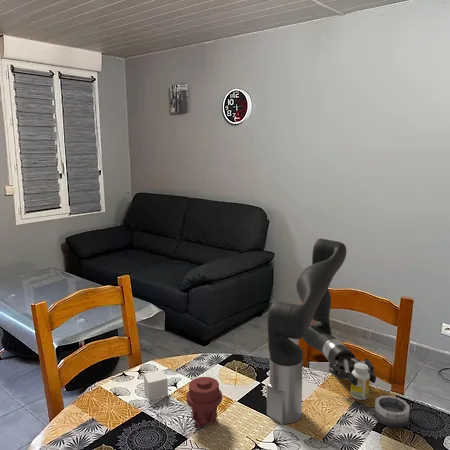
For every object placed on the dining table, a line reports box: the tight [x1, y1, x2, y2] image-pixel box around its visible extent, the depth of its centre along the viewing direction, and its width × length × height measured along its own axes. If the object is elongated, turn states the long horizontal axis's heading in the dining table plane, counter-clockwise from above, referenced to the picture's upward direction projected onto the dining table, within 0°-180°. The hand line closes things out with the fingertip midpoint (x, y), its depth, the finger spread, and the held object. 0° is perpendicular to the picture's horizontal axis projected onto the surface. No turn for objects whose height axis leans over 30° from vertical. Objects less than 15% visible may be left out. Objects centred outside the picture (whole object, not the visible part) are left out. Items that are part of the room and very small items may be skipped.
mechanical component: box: [185, 376, 223, 428], centre depth 118 cm, size 12×10×10 cm
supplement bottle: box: [350, 363, 371, 401], centre depth 127 cm, size 5×5×10 cm
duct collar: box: [374, 394, 411, 429], centre depth 119 cm, size 9×9×4 cm
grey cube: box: [143, 369, 169, 401], centre depth 132 cm, size 6×6×6 cm
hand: (365, 381), depth 124 cm, fingers closed on supplement bottle, 5 cm apart
